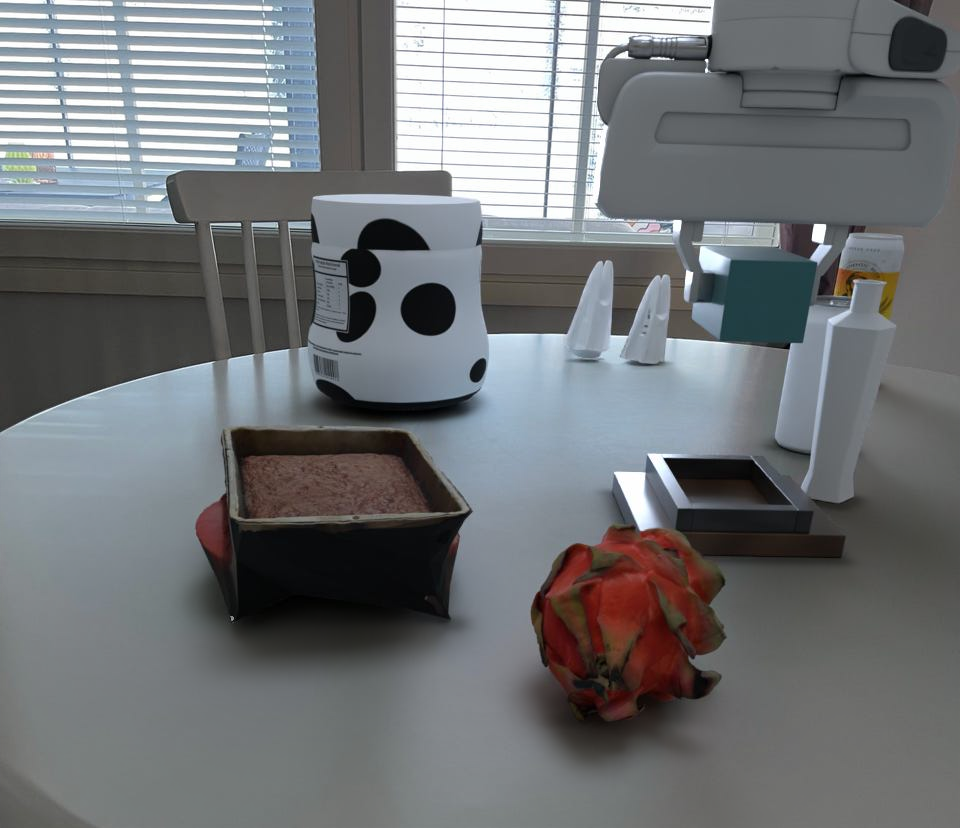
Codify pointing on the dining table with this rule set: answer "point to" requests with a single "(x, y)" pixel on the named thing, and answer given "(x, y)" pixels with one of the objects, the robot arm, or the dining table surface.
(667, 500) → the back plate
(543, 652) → the dragon fruit
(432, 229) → the milk container
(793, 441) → the can
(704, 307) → the teal rectangular block
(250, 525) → the baking dish
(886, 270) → the beer can
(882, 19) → the robot arm
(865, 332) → the perfume bottle
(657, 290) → the shaker set
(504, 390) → the dining table surface
